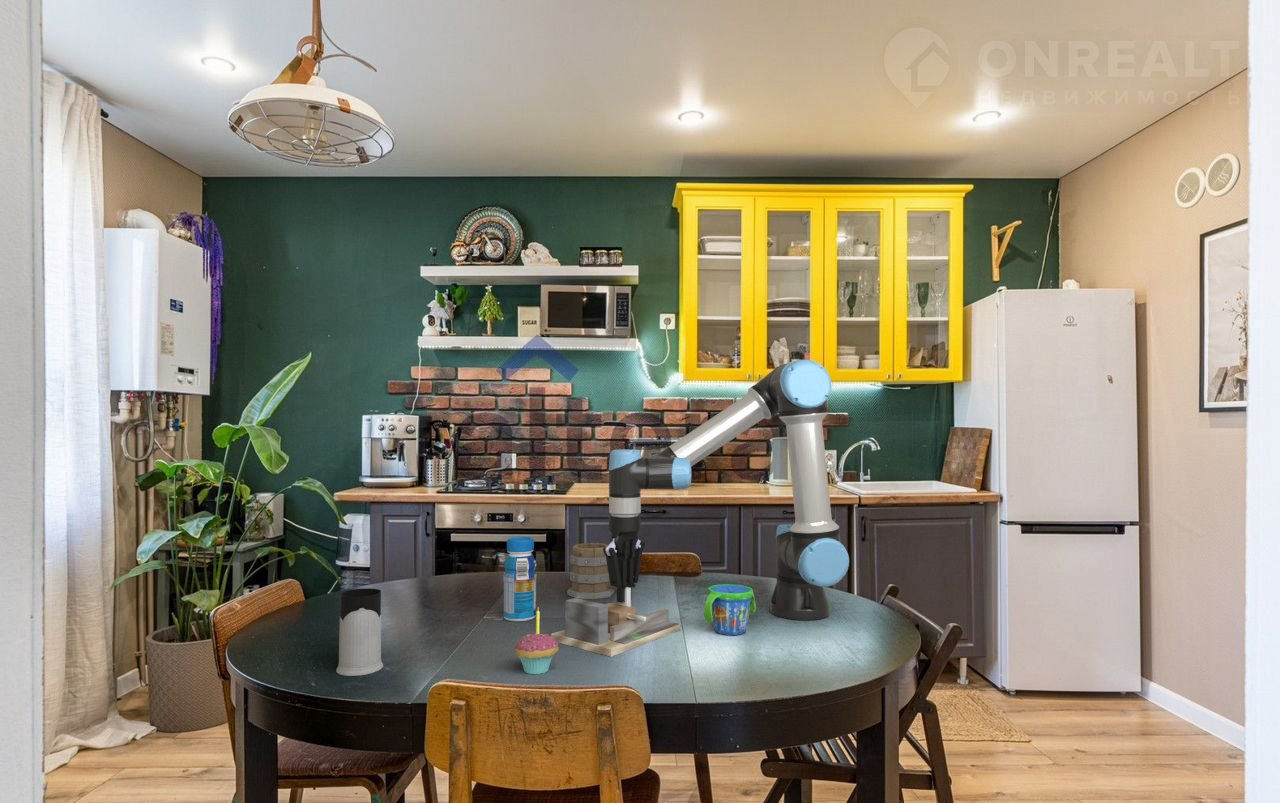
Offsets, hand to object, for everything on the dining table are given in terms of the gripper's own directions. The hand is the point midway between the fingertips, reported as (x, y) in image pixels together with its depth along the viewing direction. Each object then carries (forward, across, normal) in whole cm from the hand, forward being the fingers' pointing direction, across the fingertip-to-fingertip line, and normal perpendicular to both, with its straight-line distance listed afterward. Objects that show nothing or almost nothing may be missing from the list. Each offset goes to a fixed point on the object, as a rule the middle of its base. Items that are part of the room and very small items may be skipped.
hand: (624, 615), depth 166 cm
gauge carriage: (+2, +4, +3) cm, 5 cm away
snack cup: (+4, -16, +19) cm, 25 cm away
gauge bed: (+4, +3, 0) cm, 5 cm away
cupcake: (+4, +31, +3) cm, 31 cm away
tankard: (+4, -25, -29) cm, 39 cm away
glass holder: (+4, +51, -28) cm, 58 cm away
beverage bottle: (+4, +7, -29) cm, 30 cm away
